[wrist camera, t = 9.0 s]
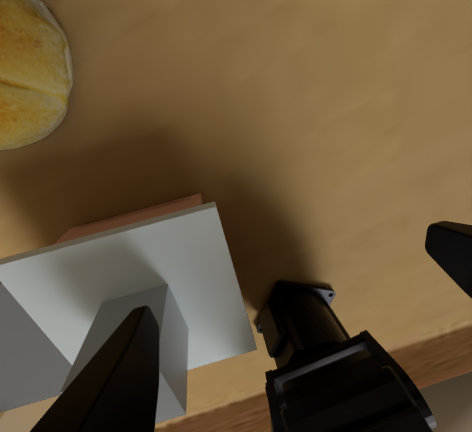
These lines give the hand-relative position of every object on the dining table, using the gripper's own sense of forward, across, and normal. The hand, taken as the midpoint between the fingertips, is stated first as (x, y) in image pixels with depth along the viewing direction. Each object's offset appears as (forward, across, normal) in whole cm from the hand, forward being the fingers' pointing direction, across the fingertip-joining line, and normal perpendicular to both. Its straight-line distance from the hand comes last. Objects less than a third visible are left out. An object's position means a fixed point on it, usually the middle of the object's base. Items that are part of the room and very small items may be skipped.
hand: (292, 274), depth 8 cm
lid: (+7, +8, +6) cm, 12 cm away
